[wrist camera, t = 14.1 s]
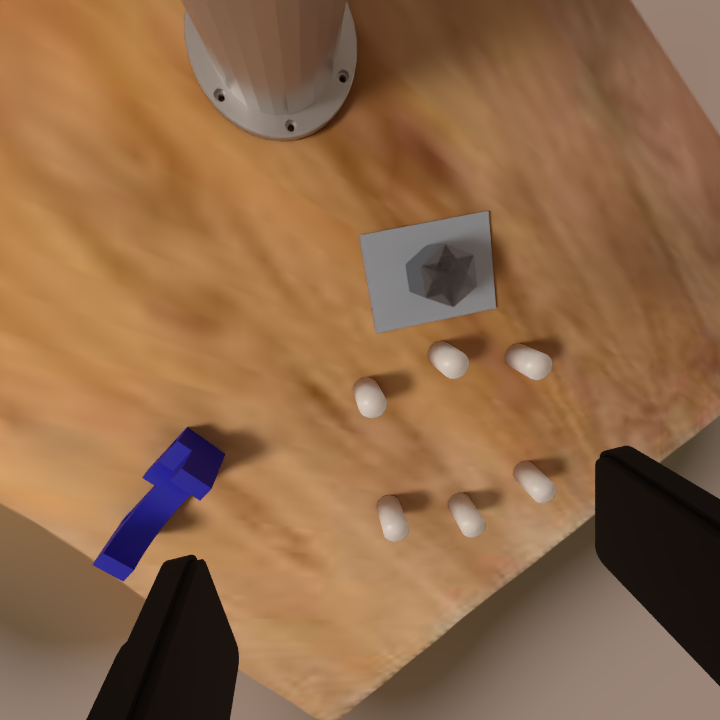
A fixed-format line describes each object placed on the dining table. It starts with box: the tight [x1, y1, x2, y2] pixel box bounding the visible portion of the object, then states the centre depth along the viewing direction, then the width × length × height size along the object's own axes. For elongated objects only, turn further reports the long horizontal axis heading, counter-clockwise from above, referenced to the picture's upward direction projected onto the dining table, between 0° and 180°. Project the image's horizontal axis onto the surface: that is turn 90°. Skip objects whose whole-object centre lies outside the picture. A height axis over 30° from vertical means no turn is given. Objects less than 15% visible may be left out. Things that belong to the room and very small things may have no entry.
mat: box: [359, 211, 496, 333], centre depth 36 cm, size 9×12×1 cm
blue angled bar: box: [93, 427, 225, 581], centre depth 35 cm, size 12×4×6 cm, turn 136°
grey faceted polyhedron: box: [405, 244, 477, 307], centre depth 33 cm, size 5×4×5 cm
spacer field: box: [353, 341, 557, 541], centre depth 39 cm, size 21×19×4 cm
